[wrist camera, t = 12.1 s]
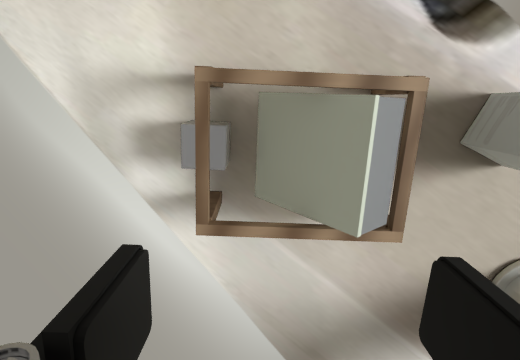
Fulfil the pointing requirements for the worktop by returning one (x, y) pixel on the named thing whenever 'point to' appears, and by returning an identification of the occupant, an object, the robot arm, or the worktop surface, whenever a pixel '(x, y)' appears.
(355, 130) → the trapdoor
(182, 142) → the grey near-cubic block
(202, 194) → the frame
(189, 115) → the worktop surface
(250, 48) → the worktop surface
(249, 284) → the worktop surface
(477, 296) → the robot arm
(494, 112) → the supplement box
